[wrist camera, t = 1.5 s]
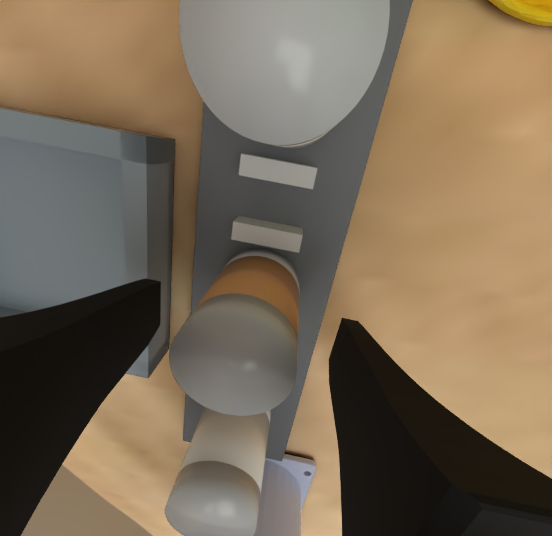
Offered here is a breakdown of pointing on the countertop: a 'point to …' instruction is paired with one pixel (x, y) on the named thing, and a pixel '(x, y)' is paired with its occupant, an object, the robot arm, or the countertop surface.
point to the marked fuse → (242, 336)
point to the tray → (83, 215)
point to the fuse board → (286, 213)
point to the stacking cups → (527, 10)
